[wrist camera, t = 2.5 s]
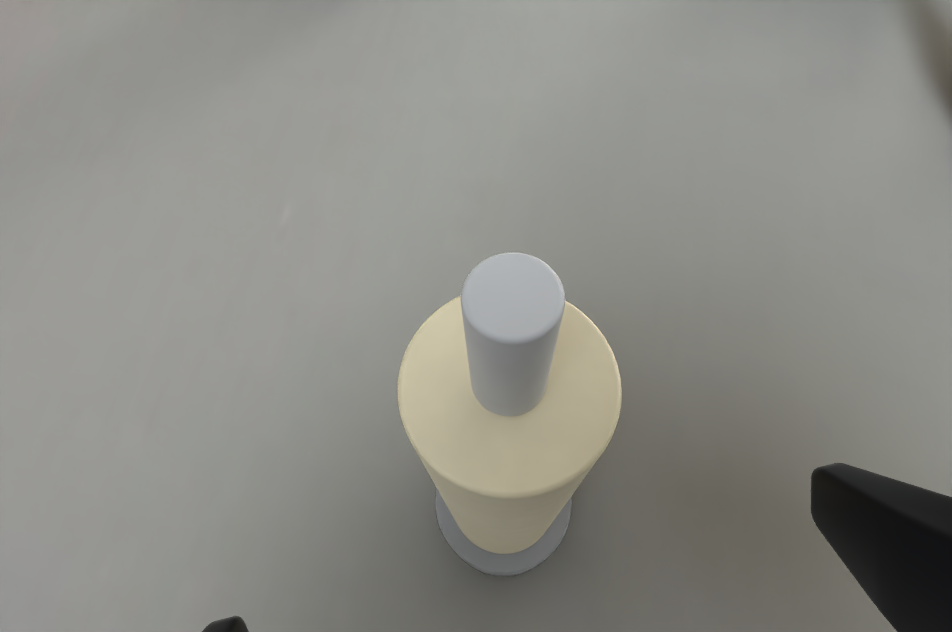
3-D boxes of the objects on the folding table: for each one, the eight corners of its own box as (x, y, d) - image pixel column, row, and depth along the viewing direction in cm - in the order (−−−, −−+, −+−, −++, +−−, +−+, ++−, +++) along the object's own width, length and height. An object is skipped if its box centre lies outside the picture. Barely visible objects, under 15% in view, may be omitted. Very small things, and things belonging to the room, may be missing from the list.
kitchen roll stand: (583, 552, 17) (820, 432, 5) (460, 594, 17) (343, 586, 4) (540, 432, 19) (624, 100, 6) (427, 466, 19) (276, 187, 6)
